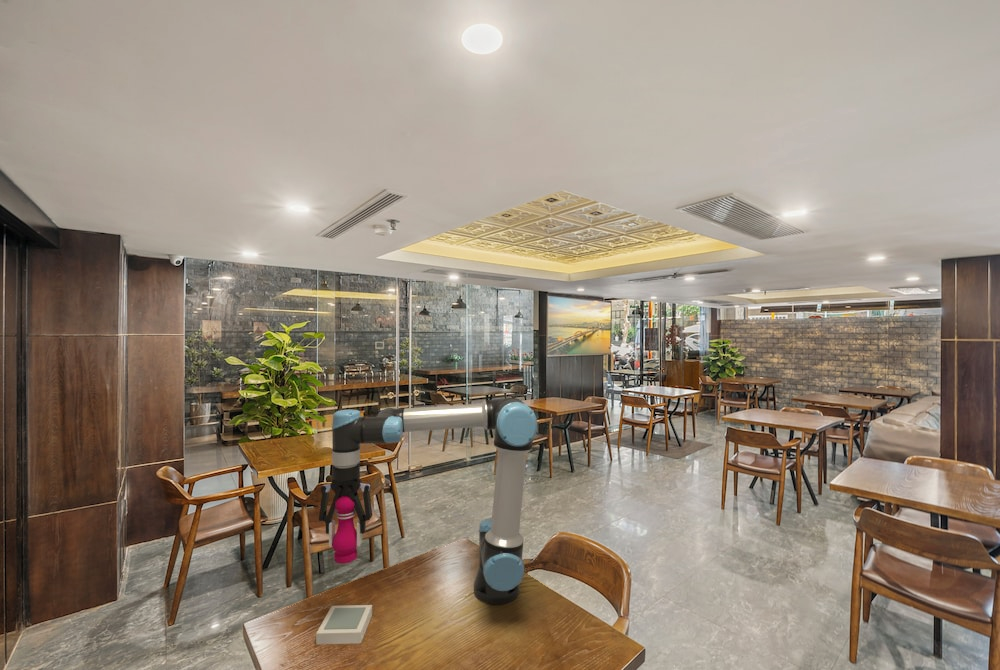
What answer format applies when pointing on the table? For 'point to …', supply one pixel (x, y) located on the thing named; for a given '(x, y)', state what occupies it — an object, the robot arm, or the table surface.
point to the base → (344, 625)
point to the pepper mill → (345, 532)
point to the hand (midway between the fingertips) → (345, 544)
